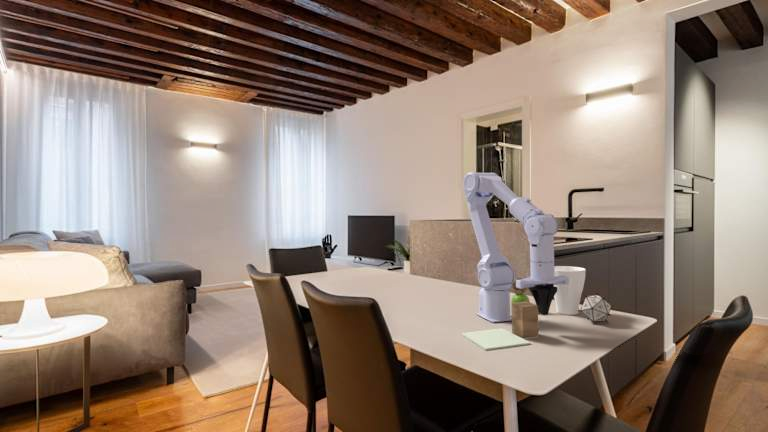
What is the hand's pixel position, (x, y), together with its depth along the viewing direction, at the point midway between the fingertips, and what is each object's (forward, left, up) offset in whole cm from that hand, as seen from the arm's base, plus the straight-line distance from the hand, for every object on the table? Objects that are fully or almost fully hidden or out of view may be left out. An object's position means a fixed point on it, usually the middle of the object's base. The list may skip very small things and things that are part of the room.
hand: (543, 314), depth 99 cm
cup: (-14, +19, -5) cm, 24 cm away
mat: (0, -14, -5) cm, 15 cm away
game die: (-3, +19, -5) cm, 20 cm away
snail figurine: (-21, +8, -5) cm, 23 cm away
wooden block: (0, -6, -5) cm, 8 cm away
